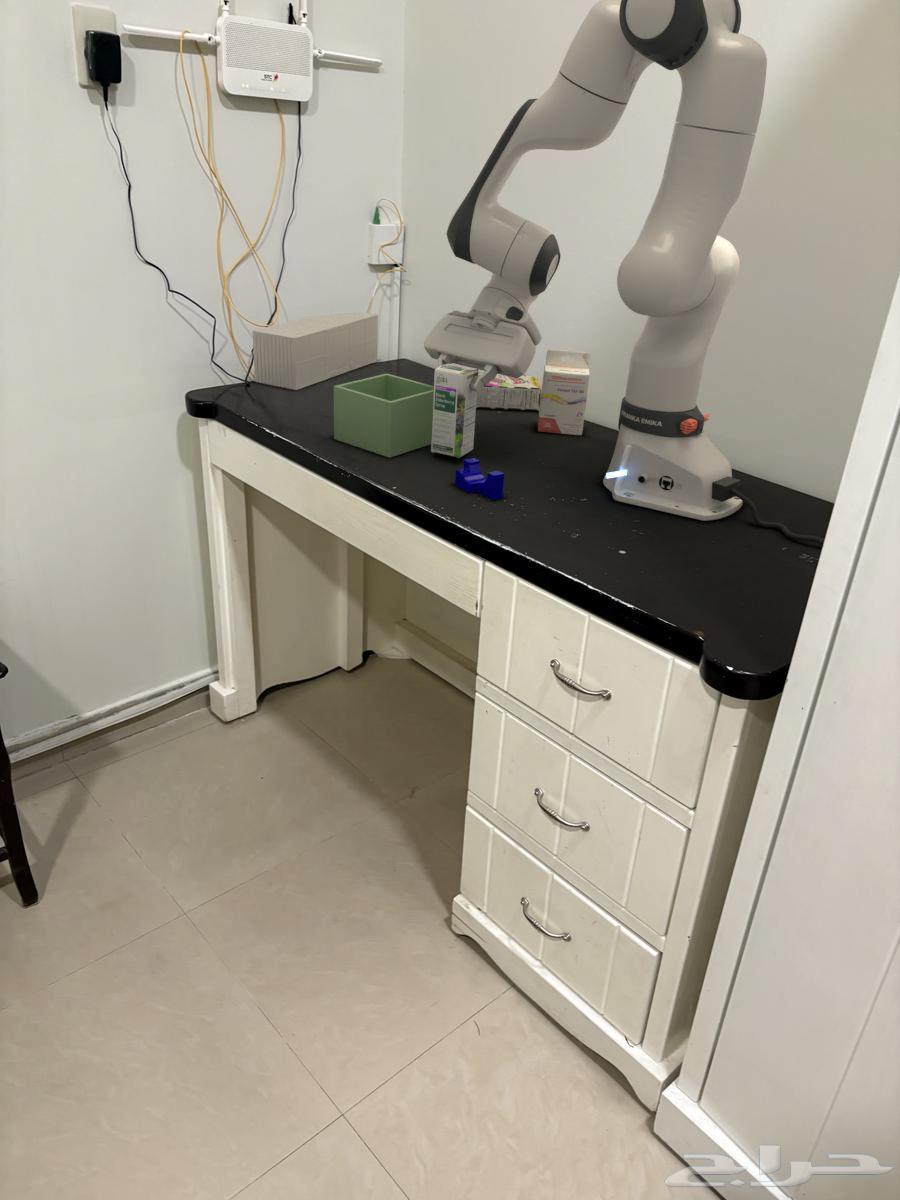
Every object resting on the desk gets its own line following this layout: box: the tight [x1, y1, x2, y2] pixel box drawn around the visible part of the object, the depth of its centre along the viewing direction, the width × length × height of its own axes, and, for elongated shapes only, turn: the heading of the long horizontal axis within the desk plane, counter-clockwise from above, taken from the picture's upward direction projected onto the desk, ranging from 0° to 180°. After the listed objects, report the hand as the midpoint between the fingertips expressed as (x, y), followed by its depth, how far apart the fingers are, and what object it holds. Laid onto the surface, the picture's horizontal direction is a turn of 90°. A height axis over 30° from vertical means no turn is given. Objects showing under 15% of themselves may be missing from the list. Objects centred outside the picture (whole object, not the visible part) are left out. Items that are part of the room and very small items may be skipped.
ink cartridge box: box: [537, 348, 591, 436], centre depth 175 cm, size 9×5×15 cm, turn 84°
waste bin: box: [333, 373, 434, 459], centre depth 165 cm, size 14×14×10 cm
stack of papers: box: [251, 311, 379, 391], centre depth 206 cm, size 32×11×11 cm
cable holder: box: [454, 457, 505, 501], centre depth 146 cm, size 8×4×4 cm, turn 34°
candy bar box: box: [476, 372, 542, 412], centre depth 192 cm, size 11×5×16 cm
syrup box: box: [430, 363, 479, 459], centre depth 158 cm, size 6×6×14 cm
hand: (456, 385), depth 156 cm, fingers closed on syrup box, 6 cm apart
